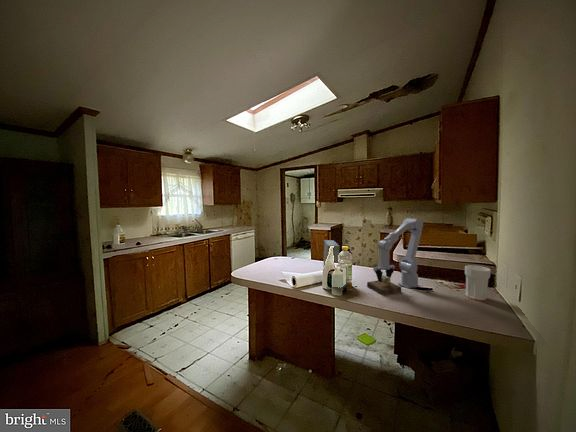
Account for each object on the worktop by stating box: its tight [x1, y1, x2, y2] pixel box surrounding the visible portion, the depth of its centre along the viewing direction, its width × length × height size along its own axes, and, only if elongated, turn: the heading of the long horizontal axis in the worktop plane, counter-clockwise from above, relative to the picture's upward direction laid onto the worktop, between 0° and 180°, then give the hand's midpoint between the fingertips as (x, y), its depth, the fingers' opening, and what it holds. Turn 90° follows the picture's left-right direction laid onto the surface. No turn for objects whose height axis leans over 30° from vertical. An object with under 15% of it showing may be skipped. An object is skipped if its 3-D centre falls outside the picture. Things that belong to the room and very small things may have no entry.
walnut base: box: [366, 280, 402, 296], centre depth 145 cm, size 14×14×3 cm
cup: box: [464, 264, 492, 302], centre depth 131 cm, size 11×11×17 cm
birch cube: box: [377, 274, 391, 287], centre depth 144 cm, size 5×5×5 cm
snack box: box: [322, 239, 340, 268], centre depth 166 cm, size 22×9×26 cm, turn 179°
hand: (383, 280), depth 144 cm, fingers open, 6 cm apart
